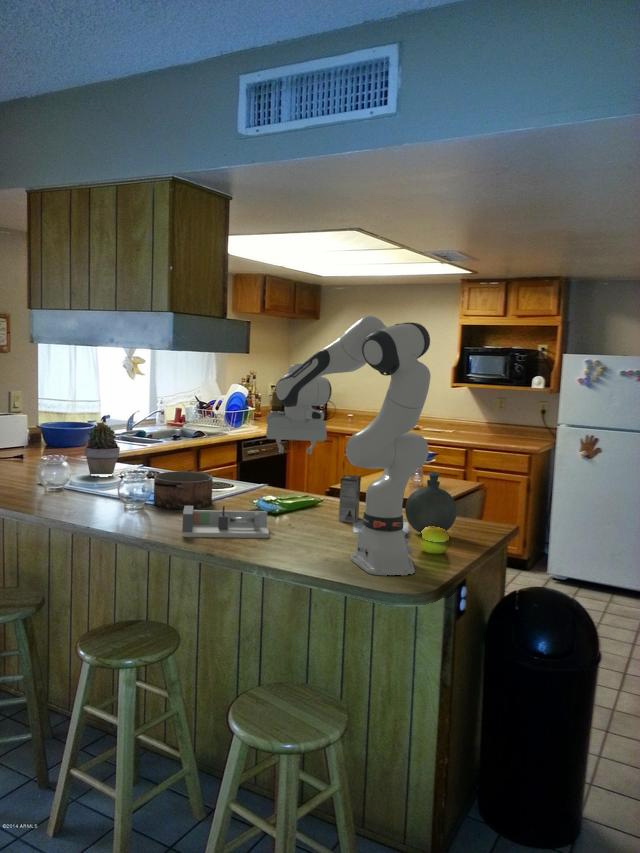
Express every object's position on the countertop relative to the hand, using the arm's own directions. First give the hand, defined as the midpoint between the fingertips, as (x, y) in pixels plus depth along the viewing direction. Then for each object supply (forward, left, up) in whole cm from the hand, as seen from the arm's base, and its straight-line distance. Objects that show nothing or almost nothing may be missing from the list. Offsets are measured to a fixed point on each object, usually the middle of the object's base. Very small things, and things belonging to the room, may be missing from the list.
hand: (295, 453), depth 232 cm
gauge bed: (-1, +22, -27) cm, 35 cm away
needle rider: (-1, +23, -26) cm, 34 cm away
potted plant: (+96, +77, -28) cm, 126 cm away
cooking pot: (+42, +38, -28) cm, 63 cm away
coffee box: (+20, -24, -28) cm, 42 cm away
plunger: (-1, +16, -26) cm, 30 cm away
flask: (0, -49, -28) cm, 56 cm away
